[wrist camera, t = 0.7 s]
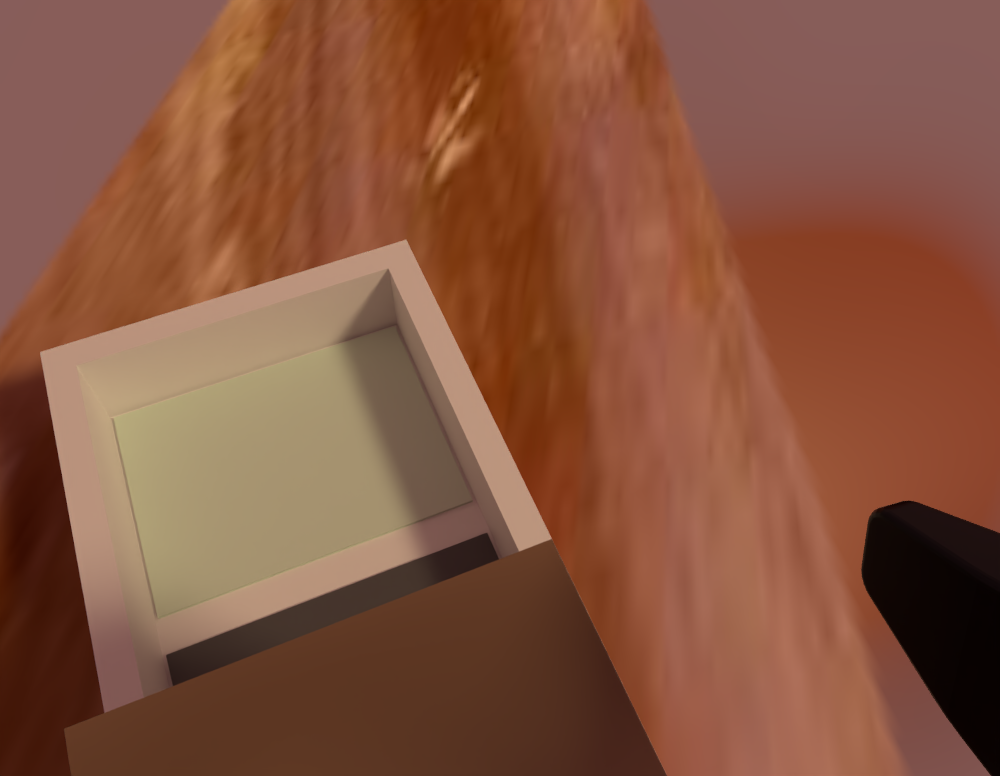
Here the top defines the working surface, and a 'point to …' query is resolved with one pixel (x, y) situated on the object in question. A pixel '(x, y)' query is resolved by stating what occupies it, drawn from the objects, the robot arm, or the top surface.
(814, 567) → the top surface
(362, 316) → the box
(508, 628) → the walnut block
